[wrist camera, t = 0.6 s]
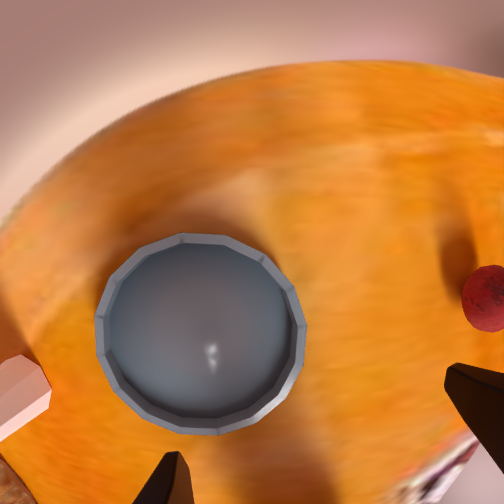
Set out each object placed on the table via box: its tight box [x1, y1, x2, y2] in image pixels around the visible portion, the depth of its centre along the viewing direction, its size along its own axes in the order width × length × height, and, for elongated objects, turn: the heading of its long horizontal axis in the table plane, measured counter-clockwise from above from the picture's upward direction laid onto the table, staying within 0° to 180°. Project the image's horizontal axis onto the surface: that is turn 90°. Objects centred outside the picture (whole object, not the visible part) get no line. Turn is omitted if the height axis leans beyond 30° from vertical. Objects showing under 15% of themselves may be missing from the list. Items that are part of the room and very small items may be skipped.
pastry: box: [0, 458, 36, 504], centre depth 17 cm, size 9×7×4 cm
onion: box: [461, 265, 504, 332], centre depth 21 cm, size 6×6×8 cm
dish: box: [95, 233, 307, 436], centre depth 20 cm, size 14×14×2 cm
